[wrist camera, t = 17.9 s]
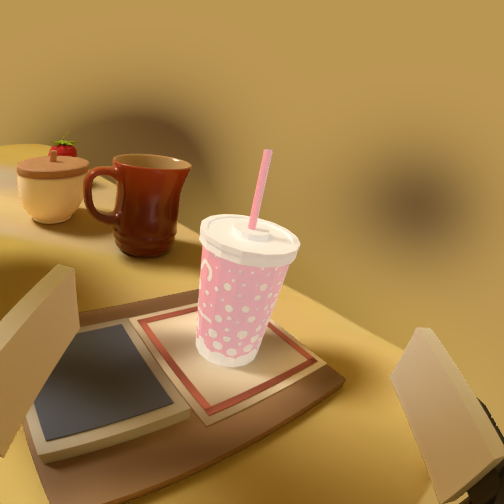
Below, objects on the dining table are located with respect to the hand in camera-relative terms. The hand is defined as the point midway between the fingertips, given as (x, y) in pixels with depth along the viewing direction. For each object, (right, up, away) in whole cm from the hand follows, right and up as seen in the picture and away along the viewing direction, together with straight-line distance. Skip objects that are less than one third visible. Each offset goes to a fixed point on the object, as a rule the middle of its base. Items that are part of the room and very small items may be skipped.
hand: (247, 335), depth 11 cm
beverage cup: (-2, -4, +12) cm, 13 cm away
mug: (-14, +3, +25) cm, 29 cm away
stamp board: (-6, -5, +9) cm, 12 cm away
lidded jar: (-28, +8, +28) cm, 41 cm away
